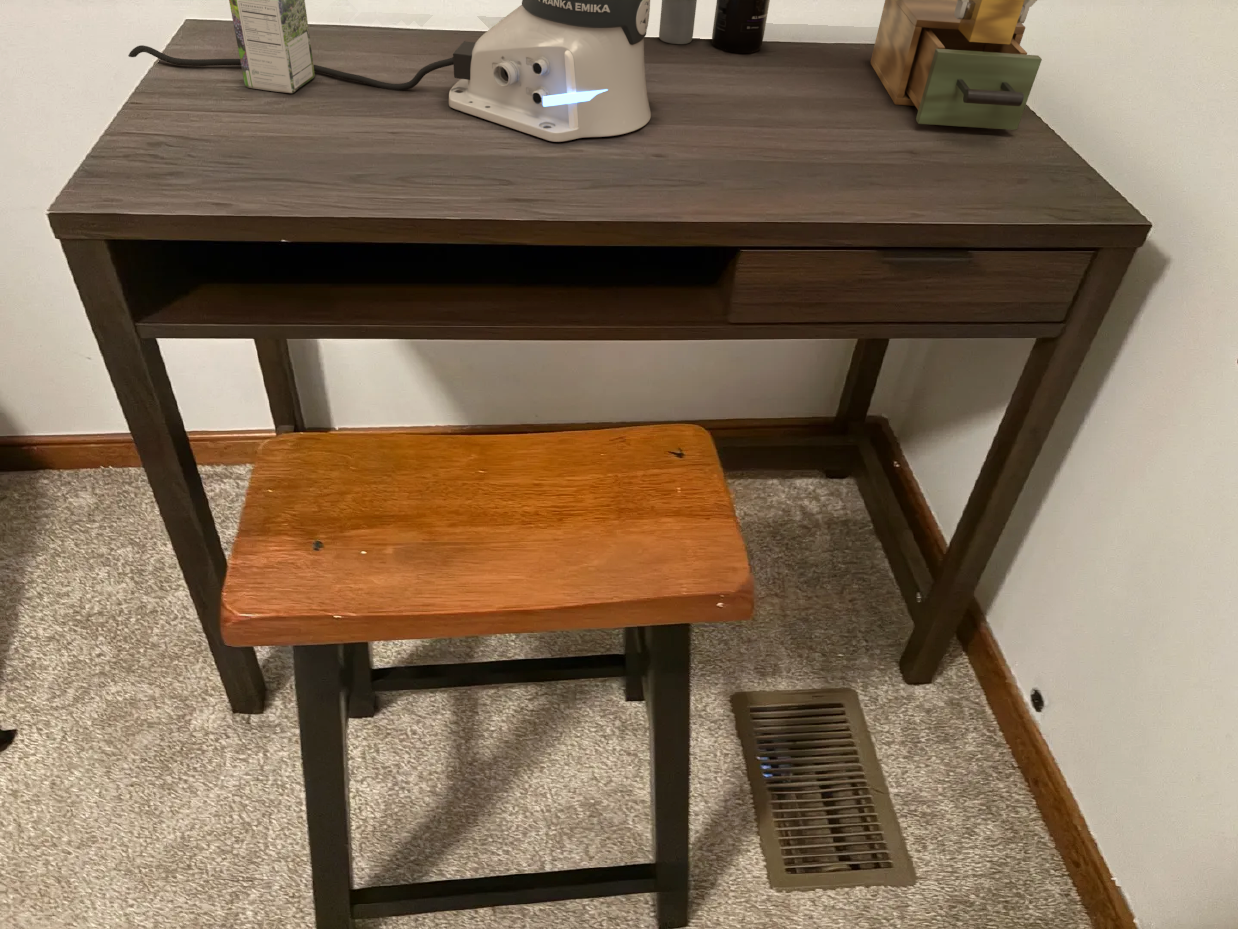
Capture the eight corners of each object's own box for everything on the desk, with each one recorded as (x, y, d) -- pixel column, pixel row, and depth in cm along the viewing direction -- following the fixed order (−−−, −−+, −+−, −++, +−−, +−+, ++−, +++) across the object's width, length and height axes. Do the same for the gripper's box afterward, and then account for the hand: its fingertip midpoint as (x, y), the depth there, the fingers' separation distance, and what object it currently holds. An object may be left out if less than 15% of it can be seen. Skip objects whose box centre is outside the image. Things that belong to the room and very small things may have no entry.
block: (969, 41, 100) (982, -4, 97) (957, 28, 103) (970, -16, 100) (1010, 44, 100) (1024, -1, 97) (997, 31, 103) (1011, -13, 100)
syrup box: (269, 71, 106) (243, -72, 96) (318, 77, 105) (296, -66, 96) (244, 88, 102) (214, -60, 92) (294, 95, 101) (269, -53, 91)
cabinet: (997, 111, 111) (1025, 26, 105) (894, 104, 111) (917, 19, 104) (963, 69, 122) (987, -10, 116) (870, 63, 122) (888, -17, 115)
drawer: (1031, 147, 101) (1058, 74, 96) (929, 141, 100) (950, 67, 95) (981, 87, 115) (1003, 20, 110) (891, 81, 114) (908, 13, 109)
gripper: (1123, -128, 94) (1070, 17, 103) (925, -143, 93) (890, 5, 102) (1150, -116, 89) (1092, 35, 98) (942, -131, 88) (903, 22, 98)
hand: (988, 19), depth 100 cm, fingers closed on block, 4 cm apart
